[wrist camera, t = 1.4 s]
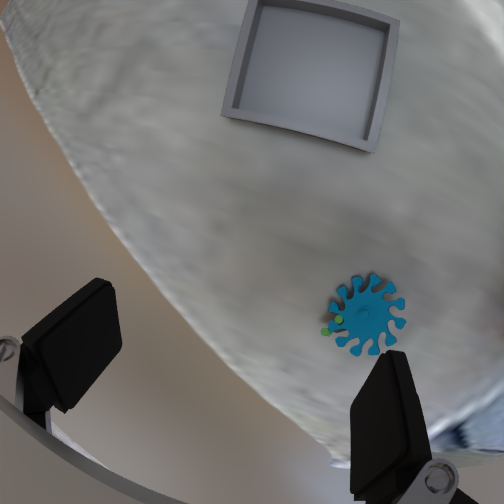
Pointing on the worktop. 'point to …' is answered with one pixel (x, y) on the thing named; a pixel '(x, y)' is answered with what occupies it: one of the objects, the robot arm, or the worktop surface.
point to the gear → (365, 316)
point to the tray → (313, 69)
